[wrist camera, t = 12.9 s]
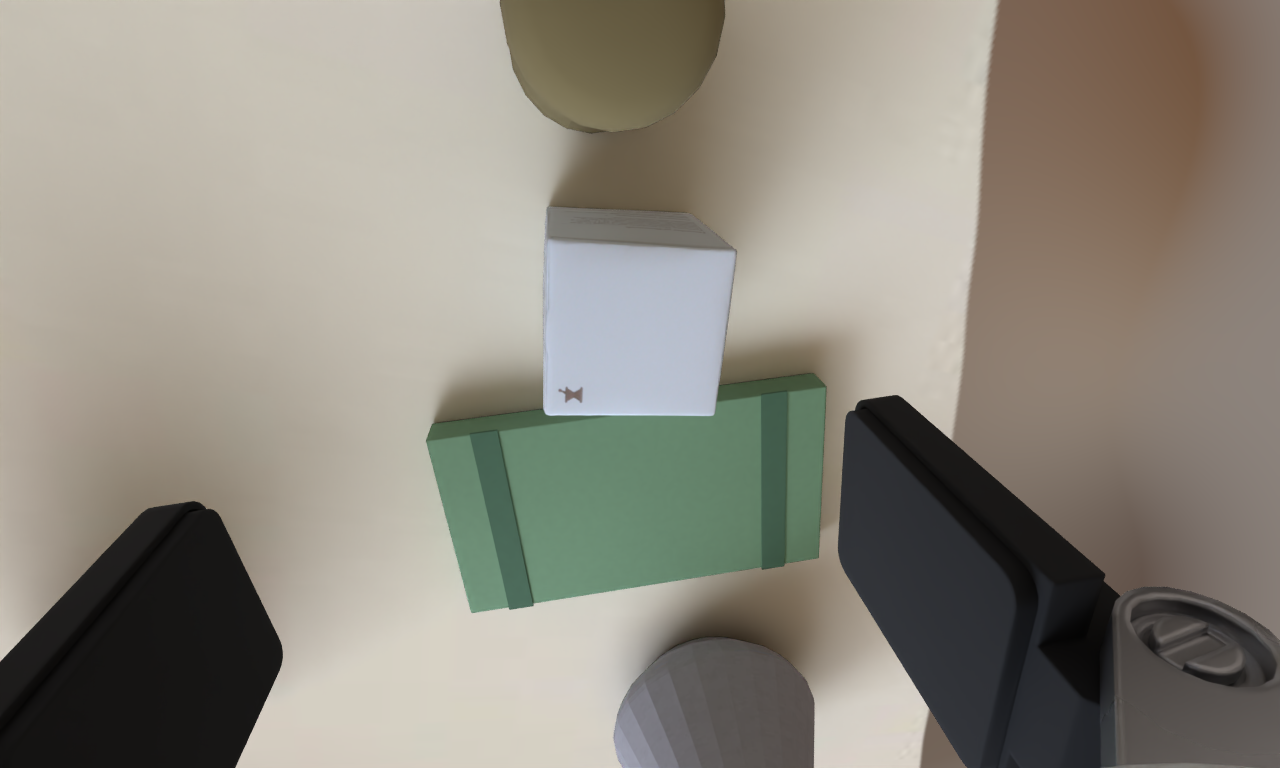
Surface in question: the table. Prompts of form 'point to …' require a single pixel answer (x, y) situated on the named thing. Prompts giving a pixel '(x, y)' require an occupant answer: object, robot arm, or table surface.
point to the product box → (633, 312)
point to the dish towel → (632, 494)
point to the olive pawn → (611, 57)
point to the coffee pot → (717, 710)
